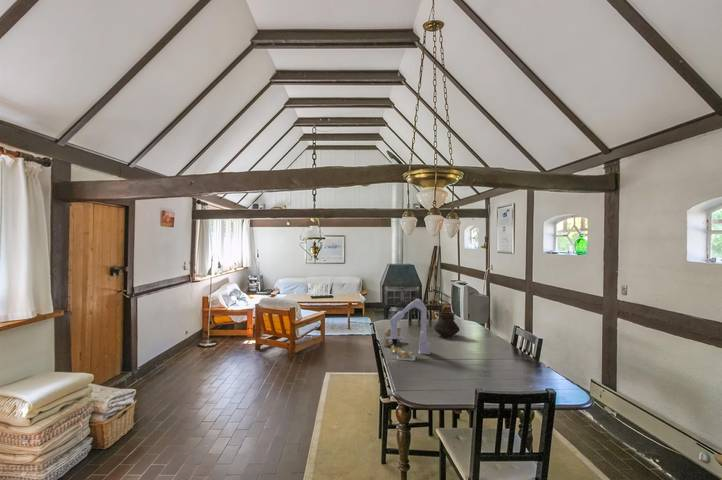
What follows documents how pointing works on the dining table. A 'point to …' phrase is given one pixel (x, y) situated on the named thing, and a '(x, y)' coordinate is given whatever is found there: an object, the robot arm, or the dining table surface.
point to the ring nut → (395, 348)
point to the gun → (388, 334)
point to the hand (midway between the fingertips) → (394, 348)
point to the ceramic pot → (446, 325)
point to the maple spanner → (401, 354)
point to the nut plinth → (394, 352)
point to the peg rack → (406, 358)
